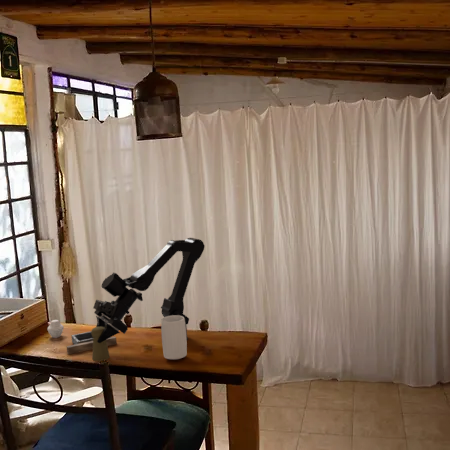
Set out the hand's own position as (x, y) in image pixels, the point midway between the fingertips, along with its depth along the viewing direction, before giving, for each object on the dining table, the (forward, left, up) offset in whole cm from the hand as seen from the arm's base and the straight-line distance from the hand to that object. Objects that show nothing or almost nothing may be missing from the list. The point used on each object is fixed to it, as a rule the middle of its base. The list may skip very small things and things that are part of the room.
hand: (95, 340), depth 193 cm
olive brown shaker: (-1, 0, -7) cm, 7 cm away
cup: (-26, +10, -7) cm, 29 cm away
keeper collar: (+4, -18, -7) cm, 20 cm away
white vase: (+16, -30, -7) cm, 35 cm away
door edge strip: (+2, -11, -7) cm, 13 cm away
